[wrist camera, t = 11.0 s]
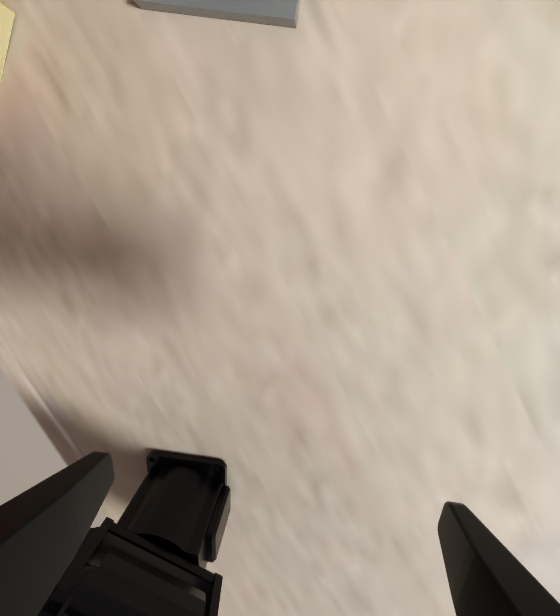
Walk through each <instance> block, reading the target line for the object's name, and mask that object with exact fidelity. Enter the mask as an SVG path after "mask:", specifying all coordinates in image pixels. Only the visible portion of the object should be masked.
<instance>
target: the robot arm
mask: <svg viewBox="0 0 560 616" xmlns="http://www.w3.org/2000/svg"><path fill="white" fill-rule="evenodd" d="M146 460H147V470H148V474H147V476H146V477H145V479H144V481H143V482H142V484H141V485H140V487H139V489H138V490H137V492H136V493H135V495H134V497H133V498H132V500H131V501H130V503H129V505H128V506H127V508H126V510H125V511H124V513H123V514H122V516H121V518H120V519H119V521H118V522H117V524H116V523H114V520H112V519H110V518H108V517H106V519H105V520H104V521H103V523H102V524H101V526H100V527H96V528H90V527H91V525H92V523H93V521H94V519H95V517H96V515H97V513H98V511H99V509H100V507H101V505H102V503H103V501H104V499H105V497H106V495H107V493H108V491H109V489H110V487H111V485H112V483H113V480H114V468H113V461H112V456H111V454H110V453H109V452H104V451H94V452H92V453H90V454H88V455H87V456H85V457H83V458H81V459H80V460H78V461H76V462H75V463H73V464H71V465H69V466H68V467H66V468H64V469H63V470H61V471H59V472H58V473H56V474H54V475H52V476H51V477H49V478H47V479H45V480H44V481H42V482H40V483H38V484H37V485H35V486H33V487H32V488H30V489H28V490H27V491H25V492H23V493H21V494H20V495H18V496H16V497H14V498H13V499H11V500H9V501H8V502H6V503H4V504H2V505H1V506H0V616H217V615H218V608H219V601H220V593H221V586H222V578H223V576H221V575H219V574H217V573H215V574H214V573H212V572H210V571H208V570H206V569H205V568H206V564H207V562H214V561H215V560H216V558H217V554H218V551H219V548H220V544H221V541H222V537H223V534H224V530H225V527H226V523H227V520H228V516H229V513H230V488H229V486H227V466H226V464H225V463H224V462H223V461H219V460H212V459H205V458H198V457H191V456H184V455H177V454H170V453H163V452H156V451H152V452H150V453H149V454H148V456H147V458H146ZM219 467H220V468H219ZM438 535H439V540H440V544H441V549H442V554H443V558H444V563H445V568H446V573H447V577H448V582H449V587H450V591H451V596H452V600H453V604H454V608H455V612H456V615H457V616H560V604H559V602H558V601H557V600H556V599H555V598H554V597H553V596H552V595H551V594H550V593H549V592H548V591H547V590H546V589H545V588H544V587H543V586H542V585H541V584H540V583H539V582H538V581H537V580H536V578H535V577H534V576H533V575H532V574H531V573H530V572H529V571H528V570H527V569H526V568H525V567H524V566H523V565H522V564H521V563H520V562H519V561H518V560H517V559H516V558H515V557H514V556H513V554H512V553H511V552H510V551H509V550H508V549H507V548H506V547H505V546H504V545H503V544H502V543H501V542H500V541H499V540H498V539H497V538H496V537H495V536H494V535H493V534H492V533H491V532H490V530H489V529H488V528H487V527H486V526H485V525H484V524H483V523H482V522H481V521H480V520H479V519H478V518H477V517H476V516H475V515H474V514H473V513H472V512H471V511H470V510H469V509H468V508H467V507H466V506H465V505H464V504H462V503H457V502H450V501H448V502H446V503H445V504H444V507H443V510H442V513H441V516H440V519H439V522H438Z"/></svg>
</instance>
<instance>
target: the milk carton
mask: <svg viewBox="0 0 560 616" xmlns="http://www.w3.org/2000/svg"><path fill="white" fill-rule="evenodd" d="M14 17H15V12H14V11H13V10H12V9H11V8H10V7H9V6H8V5H7V4H6V3H5V2H4V1H3V0H0V82H1V78H2V73H3V68H4V64H5V59H6V54H7V50H8V45H9V40H10V36H11V31H12V26H13V22H14Z"/></svg>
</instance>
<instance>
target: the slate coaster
mask: <svg viewBox="0 0 560 616" xmlns="http://www.w3.org/2000/svg"><path fill="white" fill-rule="evenodd" d="M133 1H134V2H135V3H136V4H137V5H138V6H139V7H140V8H141V9H147V10H155V11H163V12H171V13H179V14H188V15H196V16H204V17H212V18H220V19H228V20H236V21H244V22H253V23H261V24H269V25H277V26H285V27H293V28H296V25H297V17H298V9H299V2H300V0H133Z"/></svg>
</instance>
